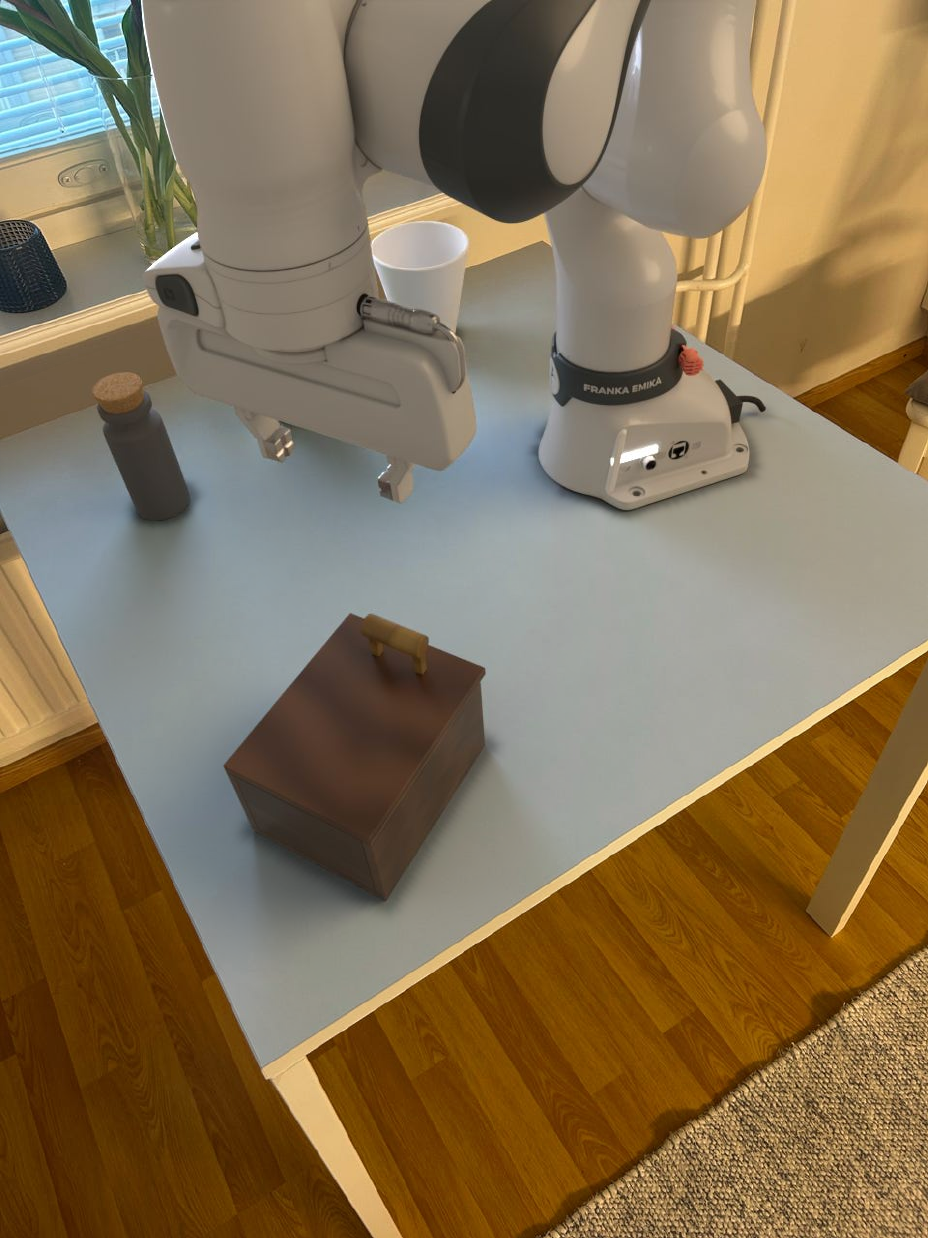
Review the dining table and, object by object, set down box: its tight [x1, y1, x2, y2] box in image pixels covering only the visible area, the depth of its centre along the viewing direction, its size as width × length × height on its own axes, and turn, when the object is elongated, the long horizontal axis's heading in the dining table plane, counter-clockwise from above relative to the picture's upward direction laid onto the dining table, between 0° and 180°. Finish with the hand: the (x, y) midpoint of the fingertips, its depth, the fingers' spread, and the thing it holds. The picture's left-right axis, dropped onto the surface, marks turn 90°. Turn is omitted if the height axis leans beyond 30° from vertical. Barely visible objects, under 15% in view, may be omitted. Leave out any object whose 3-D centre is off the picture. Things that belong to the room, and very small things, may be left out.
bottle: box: [91, 371, 191, 521], centre depth 95 cm, size 6×6×15 cm
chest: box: [225, 681, 486, 902], centre depth 73 cm, size 16×13×9 cm
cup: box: [371, 220, 471, 335], centre depth 115 cm, size 12×12×12 cm
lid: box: [223, 612, 487, 845], centre depth 68 cm, size 16×13×5 cm
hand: (337, 474), depth 61 cm, fingers open, 8 cm apart
